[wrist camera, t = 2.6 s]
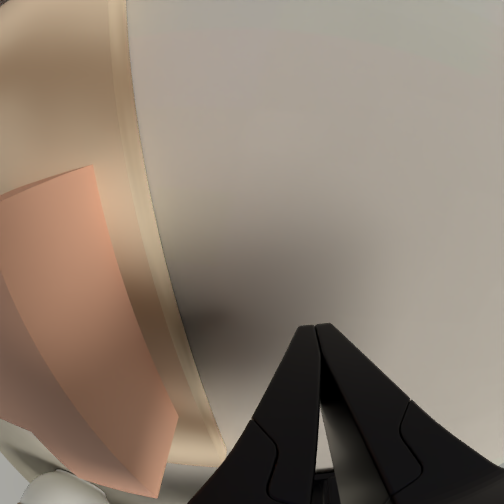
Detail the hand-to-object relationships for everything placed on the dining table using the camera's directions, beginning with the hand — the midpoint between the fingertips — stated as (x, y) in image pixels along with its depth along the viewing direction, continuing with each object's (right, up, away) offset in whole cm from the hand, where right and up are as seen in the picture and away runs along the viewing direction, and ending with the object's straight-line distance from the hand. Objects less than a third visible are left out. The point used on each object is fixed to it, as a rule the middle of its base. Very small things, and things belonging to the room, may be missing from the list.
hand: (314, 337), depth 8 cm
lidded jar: (-20, -23, +14) cm, 34 cm away
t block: (-10, 0, +2) cm, 10 cm away
